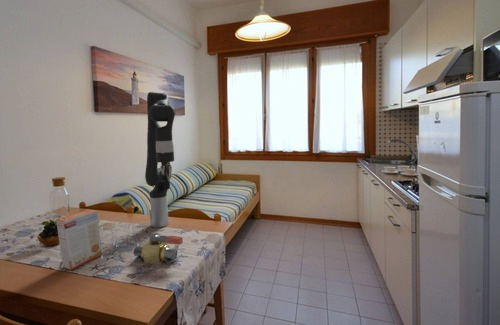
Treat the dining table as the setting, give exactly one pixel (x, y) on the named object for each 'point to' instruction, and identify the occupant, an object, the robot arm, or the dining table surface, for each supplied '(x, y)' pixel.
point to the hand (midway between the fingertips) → (167, 188)
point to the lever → (165, 239)
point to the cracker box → (79, 238)
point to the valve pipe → (155, 253)
